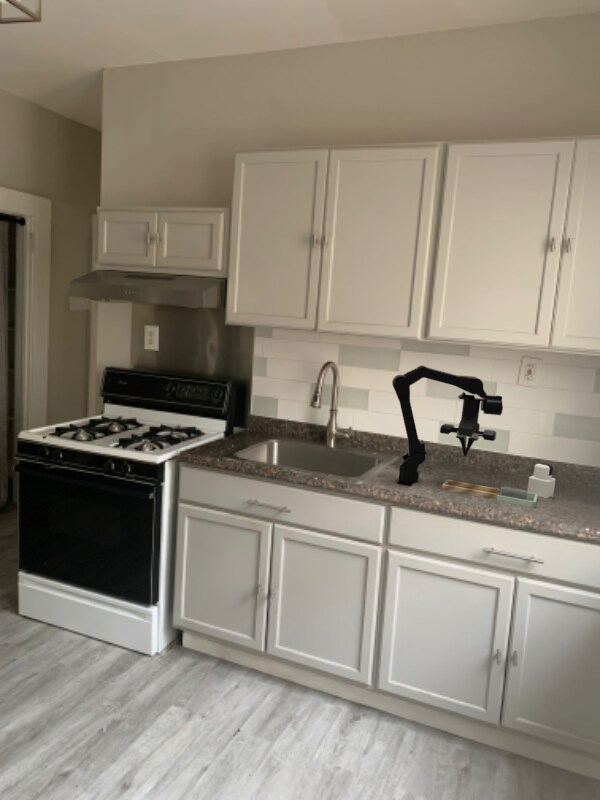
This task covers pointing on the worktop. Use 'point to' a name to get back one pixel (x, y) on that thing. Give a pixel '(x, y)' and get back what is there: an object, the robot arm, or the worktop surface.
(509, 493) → the grey cube
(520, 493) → the grey square block
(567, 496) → the worktop surface
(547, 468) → the medicine bottle
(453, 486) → the wooden tray
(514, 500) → the green tray
